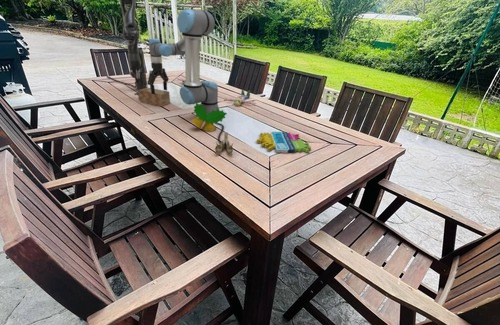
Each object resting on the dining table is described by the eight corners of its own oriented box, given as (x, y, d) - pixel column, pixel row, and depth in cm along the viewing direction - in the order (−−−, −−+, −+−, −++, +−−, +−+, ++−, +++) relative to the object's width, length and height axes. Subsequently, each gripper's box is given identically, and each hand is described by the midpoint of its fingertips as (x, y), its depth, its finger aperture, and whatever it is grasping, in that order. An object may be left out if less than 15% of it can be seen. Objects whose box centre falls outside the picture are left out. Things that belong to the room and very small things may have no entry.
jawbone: (234, 135, 144) (233, 125, 135) (233, 160, 138) (232, 151, 129) (217, 135, 144) (216, 125, 135) (216, 160, 138) (214, 150, 129)
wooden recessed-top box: (140, 101, 203) (138, 90, 199) (149, 98, 212) (148, 87, 207) (161, 106, 197) (160, 94, 192) (170, 103, 205) (169, 91, 200)
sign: (313, 150, 142) (258, 149, 139) (312, 153, 143) (258, 152, 140) (301, 132, 164) (254, 130, 161) (301, 134, 165) (254, 133, 162)
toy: (261, 91, 228) (254, 99, 202) (261, 99, 231) (253, 108, 205) (231, 87, 233) (220, 95, 207) (230, 95, 236) (219, 104, 210)
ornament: (218, 133, 171) (224, 110, 169) (221, 134, 163) (227, 111, 161) (186, 125, 162) (192, 101, 160) (189, 126, 155) (195, 101, 153)
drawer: (133, 98, 206) (131, 89, 202) (141, 96, 213) (140, 87, 210) (158, 104, 198) (157, 94, 194) (166, 101, 205) (165, 92, 201)
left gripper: (137, 58, 201) (140, 81, 209) (123, 60, 190) (127, 84, 199) (144, 59, 199) (147, 82, 207) (131, 61, 188) (135, 85, 196)
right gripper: (163, 59, 199) (166, 87, 209) (139, 63, 179) (143, 94, 189) (172, 61, 196) (174, 89, 207) (148, 65, 176) (151, 96, 187)
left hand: (137, 83), depth 203 cm, fingers closed
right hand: (159, 92), depth 198 cm, fingers open, 13 cm apart
